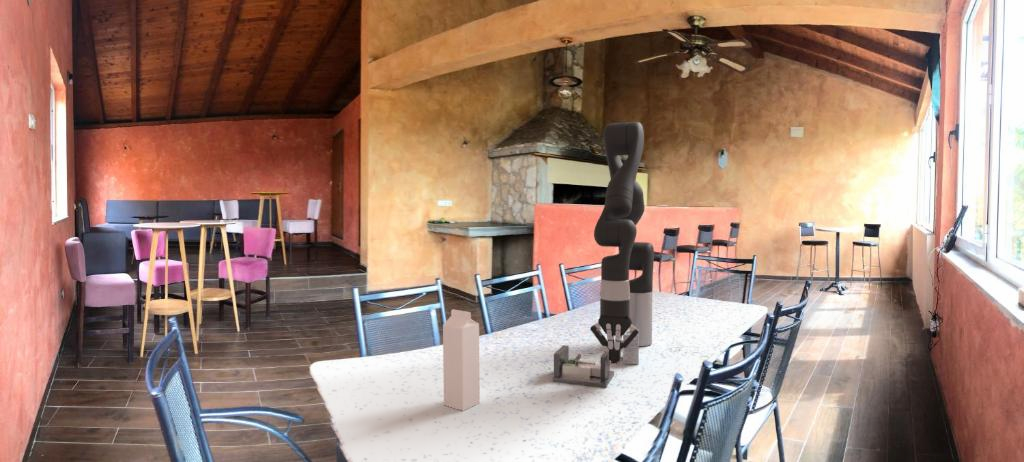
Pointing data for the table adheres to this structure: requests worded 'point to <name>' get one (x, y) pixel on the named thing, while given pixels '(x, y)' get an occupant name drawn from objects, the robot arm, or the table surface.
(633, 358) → the medicine box
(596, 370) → the plunger
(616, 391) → the table surface
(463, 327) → the milk
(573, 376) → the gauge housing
